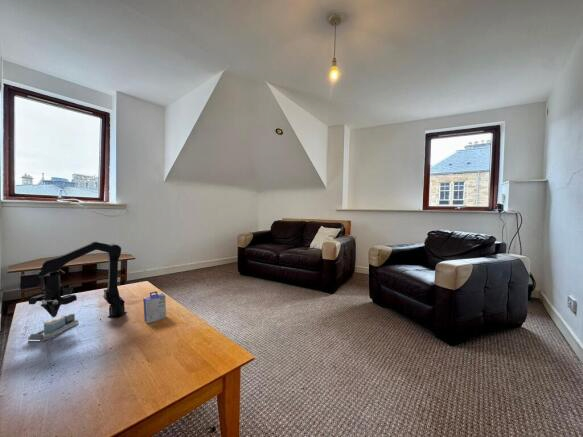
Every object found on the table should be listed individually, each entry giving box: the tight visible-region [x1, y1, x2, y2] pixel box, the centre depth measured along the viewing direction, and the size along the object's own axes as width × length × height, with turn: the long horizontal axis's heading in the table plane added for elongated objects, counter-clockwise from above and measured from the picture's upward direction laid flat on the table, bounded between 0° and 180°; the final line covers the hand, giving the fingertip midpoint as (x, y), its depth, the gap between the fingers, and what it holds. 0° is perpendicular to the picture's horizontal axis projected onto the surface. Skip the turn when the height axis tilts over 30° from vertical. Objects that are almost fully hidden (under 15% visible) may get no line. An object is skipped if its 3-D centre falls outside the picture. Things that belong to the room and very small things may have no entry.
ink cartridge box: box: [142, 291, 167, 324], centre depth 132 cm, size 10×6×14 cm, turn 134°
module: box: [43, 316, 65, 333], centre depth 119 cm, size 4×6×5 cm
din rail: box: [27, 313, 79, 342], centre depth 119 cm, size 8×17×6 cm, turn 178°
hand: (54, 316), depth 119 cm, fingers closed
